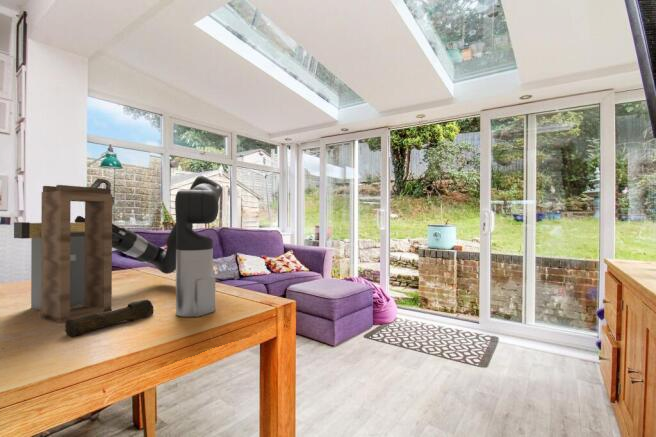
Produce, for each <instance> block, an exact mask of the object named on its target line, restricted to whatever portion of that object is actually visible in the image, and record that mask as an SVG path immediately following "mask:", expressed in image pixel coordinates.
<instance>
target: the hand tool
mask: <svg viewBox="0 0 656 437" xmlns="http://www.w3.org/2000/svg"><path fill="white" fill-rule="evenodd" d="M154 312H155V310H154V305H153V304H152V302H151V300H149V299H141V300H138V301H132V302H131V303H128V304H127V306H125V307H121V308H117V309H113V310H112V311H108V312H104V313H100V314H94V315H90V316H85V317H82V318H78V319H74V320H73V319H68V320H66V322H65V325H64V326H65V327H64V328H65V330H64V331H65V333H66V336H67V337H69V338H74V337H75V336H77V335H83V334H84V333H86V332H90V331H93V330H98V329H100V328H104V327H107V326H112V325H116V324H119V323H123V322H126V321H127V322H129V321H130V322H136V321H139V320H142V319H146V318H147V317H150V316H152V315H154Z"/></svg>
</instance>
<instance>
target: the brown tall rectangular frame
mask: <svg viewBox="0 0 656 437" xmlns="http://www.w3.org/2000/svg"><path fill="white" fill-rule="evenodd" d="M71 202H79V203H80V202H82V203H84V218H85V304H80V305H76V306H71V307H70V223H71ZM40 219H41V221H40V223H41V310H40V318H41V319H42V320H43V319H44V320H46V321H47V320H48V321H51V322H55V323H58V324H63V323H66V320H68V319H73V320H74V319H78V318H82V317H85V316H90V315H94V314H101V313H105V312H109V311H113V310H112V306H113V304H112V301H113V300H112V298H113V297H112V296H113V294H112V293H113V292H112V290H113V287H112V285H113V284H112V283H113V282H112V281H113V278H112V277H113V274H112V273H113V268H112V267H113V265H112V264H113V262H112V261H113V248H112V224H113V194H112V189H111V188H105V187H104V188H102V187H91V186H90V187H89V186H79V185H78V186H76V185H66V184H64V185H63V184H56V185H55V186H53V185H43V186H42V191H41V218H40Z"/></svg>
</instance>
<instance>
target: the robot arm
mask: <svg viewBox="0 0 656 437" xmlns="http://www.w3.org/2000/svg"><path fill="white" fill-rule="evenodd" d="M222 190H223V188H222V186H221V184H219V183H217V182H215V181H214V180H212V179H210V178H208V177H206V176H204V175H201V174H200V175H198V176H197V177H196V178H195V179H194V181H193V182H192V184H191V185H190V188H189V189H179V190H178V191H177V193H176V194H175V199H174V200H175V201H174V210H175V213H174V214H175V223H174V225H173V227H172V229H171V230H170V232H169V233H168V235H167V238H166V240H165V244H166V249H165V248H162V247H160V246H158V245H156V244H154V243H152V242H150V241H148V240H147V239H145V238H144V237H142V236H141V235H139V234H137V233H136V232H135V231H132V230H130V229H129V228H127V227H124V226H123V227H119V226H118V225H116V224H114V223H112V249H114V250H117V251H118V252H121V253H122V254H125V255H127V256H129V257H133V258H135V259H137V260H139V261H141V262H144V263H149V264H151V265H153V266H155V267H156V268H157V269H158V270H159V271H160V272H161V273H163V274H165V275H166V274H167V275H168V274H172V273H173V272H175V315H177V316H179V317H188V318H189V317H190V318H191V317H196V318H200V317H202V316H204V315H208V314H210V313H213V312H215V311H216V276H214V274H213V273H214V272H213V271H214V270H213V264H214V263H213V262H214V261H213V259H214V250H213V248H214V246H213V245H214V241H213V239H212V238H211V237H209V236H206V235H202V234H200V233H198V232H197V231H194V229H193V227H194V225H196V224H197V225H201V224H204V225H205V224H206V225H207V224H208V225H209V224H212V223H214V222H215V221H216V219H217V218H218V214H219V202H220V201H219V199H220V197H221V194H222ZM76 222H85V217H83V216H81V215H77V216H76V217H75V219H74V223H76Z"/></svg>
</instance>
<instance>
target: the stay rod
mask: <svg viewBox="0 0 656 437" xmlns="http://www.w3.org/2000/svg"><path fill="white" fill-rule="evenodd" d="M72 232H85V222H70V233H72ZM13 238H14V239H22V240H23V239H31V238H41V222H30V221H27V222H25V221H23V222H22V221H21V222H20V221H19V222H17V221H16V222H15V221H14V222H13Z"/></svg>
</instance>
